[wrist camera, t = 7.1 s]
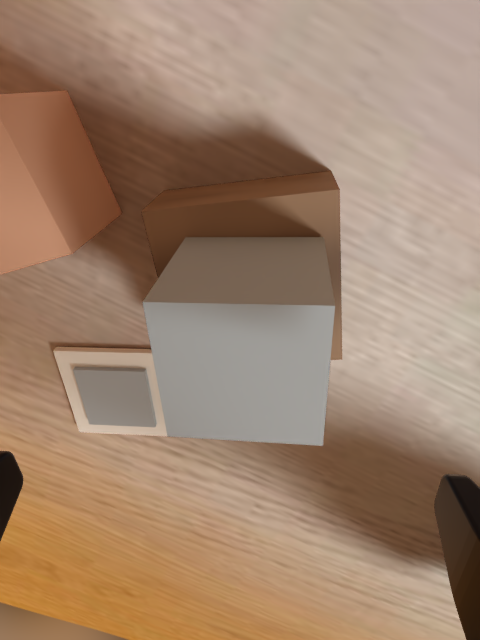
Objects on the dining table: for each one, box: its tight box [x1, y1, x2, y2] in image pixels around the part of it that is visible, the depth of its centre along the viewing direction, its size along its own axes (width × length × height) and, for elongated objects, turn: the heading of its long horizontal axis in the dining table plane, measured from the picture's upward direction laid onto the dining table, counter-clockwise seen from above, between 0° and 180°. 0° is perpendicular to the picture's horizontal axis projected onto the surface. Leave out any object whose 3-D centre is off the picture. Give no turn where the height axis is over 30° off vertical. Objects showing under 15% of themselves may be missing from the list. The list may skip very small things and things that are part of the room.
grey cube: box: [143, 237, 335, 446], centre depth 14 cm, size 5×5×5 cm
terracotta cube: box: [0, 91, 122, 275], centre depth 16 cm, size 5×5×5 cm
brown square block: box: [141, 171, 342, 360], centre depth 18 cm, size 7×7×4 cm
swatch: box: [53, 347, 167, 436], centre depth 23 cm, size 6×6×1 cm
